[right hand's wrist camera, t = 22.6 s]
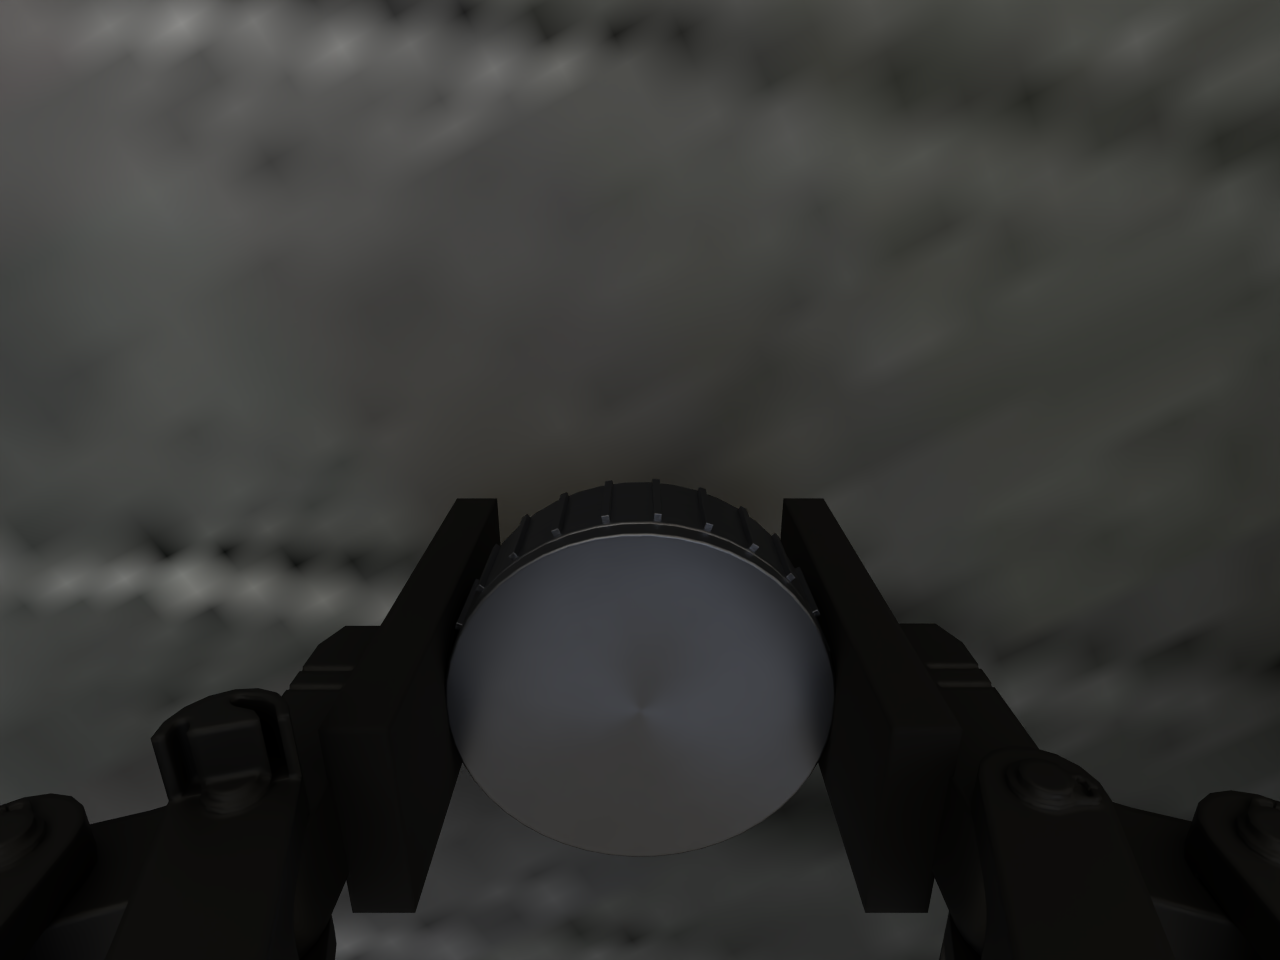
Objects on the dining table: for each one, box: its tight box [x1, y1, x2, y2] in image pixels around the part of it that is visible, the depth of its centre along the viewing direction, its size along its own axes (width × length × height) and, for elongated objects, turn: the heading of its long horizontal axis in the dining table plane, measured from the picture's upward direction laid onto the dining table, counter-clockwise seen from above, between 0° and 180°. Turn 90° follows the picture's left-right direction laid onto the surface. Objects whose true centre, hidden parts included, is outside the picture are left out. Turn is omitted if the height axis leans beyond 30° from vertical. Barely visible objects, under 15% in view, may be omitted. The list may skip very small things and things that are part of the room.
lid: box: [445, 479, 836, 857], centre depth 11 cm, size 6×6×2 cm
